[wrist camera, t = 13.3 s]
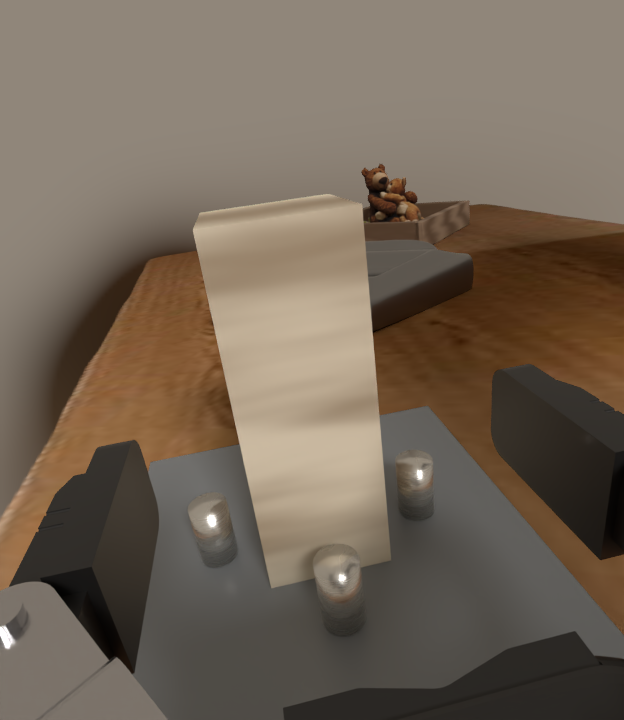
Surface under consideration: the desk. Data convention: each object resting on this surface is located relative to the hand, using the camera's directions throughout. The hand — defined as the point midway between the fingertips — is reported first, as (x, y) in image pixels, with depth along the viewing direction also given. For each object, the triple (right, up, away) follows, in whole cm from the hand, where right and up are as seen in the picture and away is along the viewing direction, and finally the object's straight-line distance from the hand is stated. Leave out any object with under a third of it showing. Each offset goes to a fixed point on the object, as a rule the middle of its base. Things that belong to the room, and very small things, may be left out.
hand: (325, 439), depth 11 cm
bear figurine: (+15, +23, +75) cm, 80 cm away
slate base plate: (0, -6, +10) cm, 12 cm away
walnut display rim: (+14, +23, +74) cm, 79 cm away
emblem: (+3, +9, +45) cm, 46 cm away
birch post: (0, -5, +9) cm, 11 cm away
